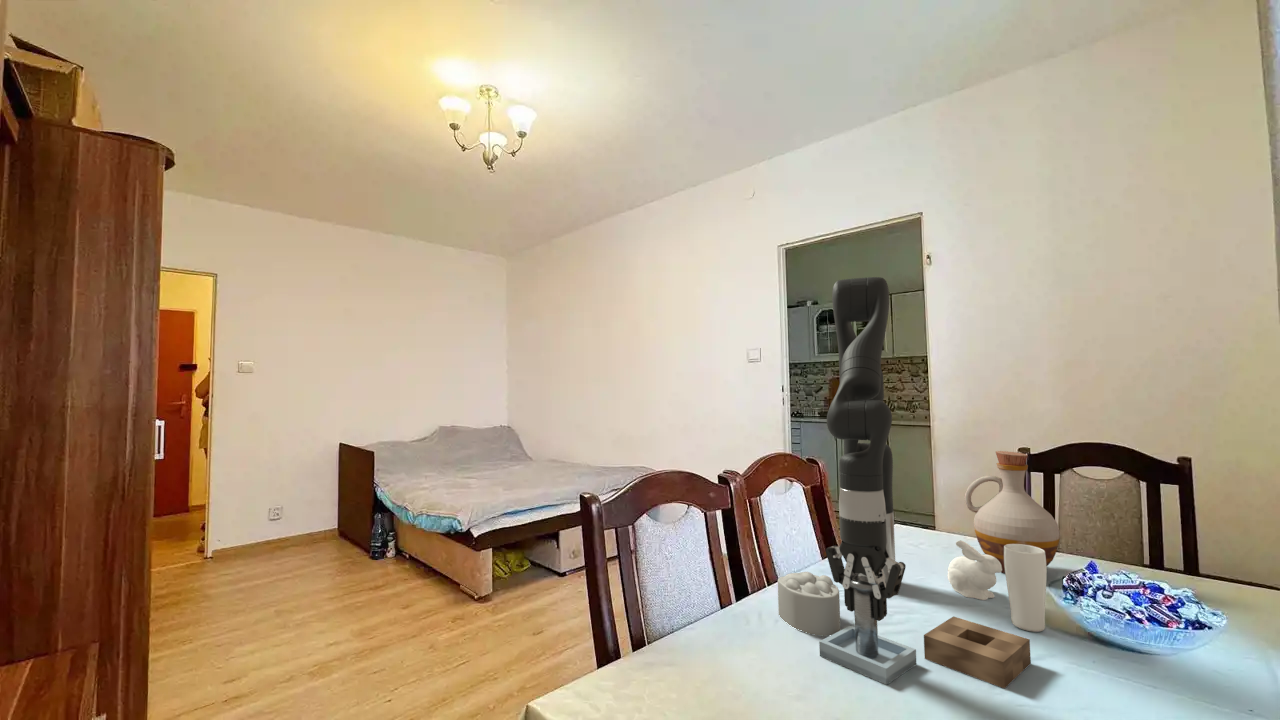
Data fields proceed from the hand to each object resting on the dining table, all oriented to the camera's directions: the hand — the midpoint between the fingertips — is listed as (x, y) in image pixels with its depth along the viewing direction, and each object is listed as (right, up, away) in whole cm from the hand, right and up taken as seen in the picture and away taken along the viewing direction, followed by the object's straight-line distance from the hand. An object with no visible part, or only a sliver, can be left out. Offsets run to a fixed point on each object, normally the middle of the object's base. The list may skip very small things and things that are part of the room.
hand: (865, 614), depth 93 cm
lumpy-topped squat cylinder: (-5, -9, +15) cm, 18 cm away
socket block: (+18, -7, -1) cm, 20 cm away
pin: (0, -6, 0) cm, 6 cm away
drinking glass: (+36, -8, +11) cm, 39 cm away
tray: (0, -8, 0) cm, 8 cm away
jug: (+55, -10, +43) cm, 70 cm away
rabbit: (+36, -9, +28) cm, 47 cm away
